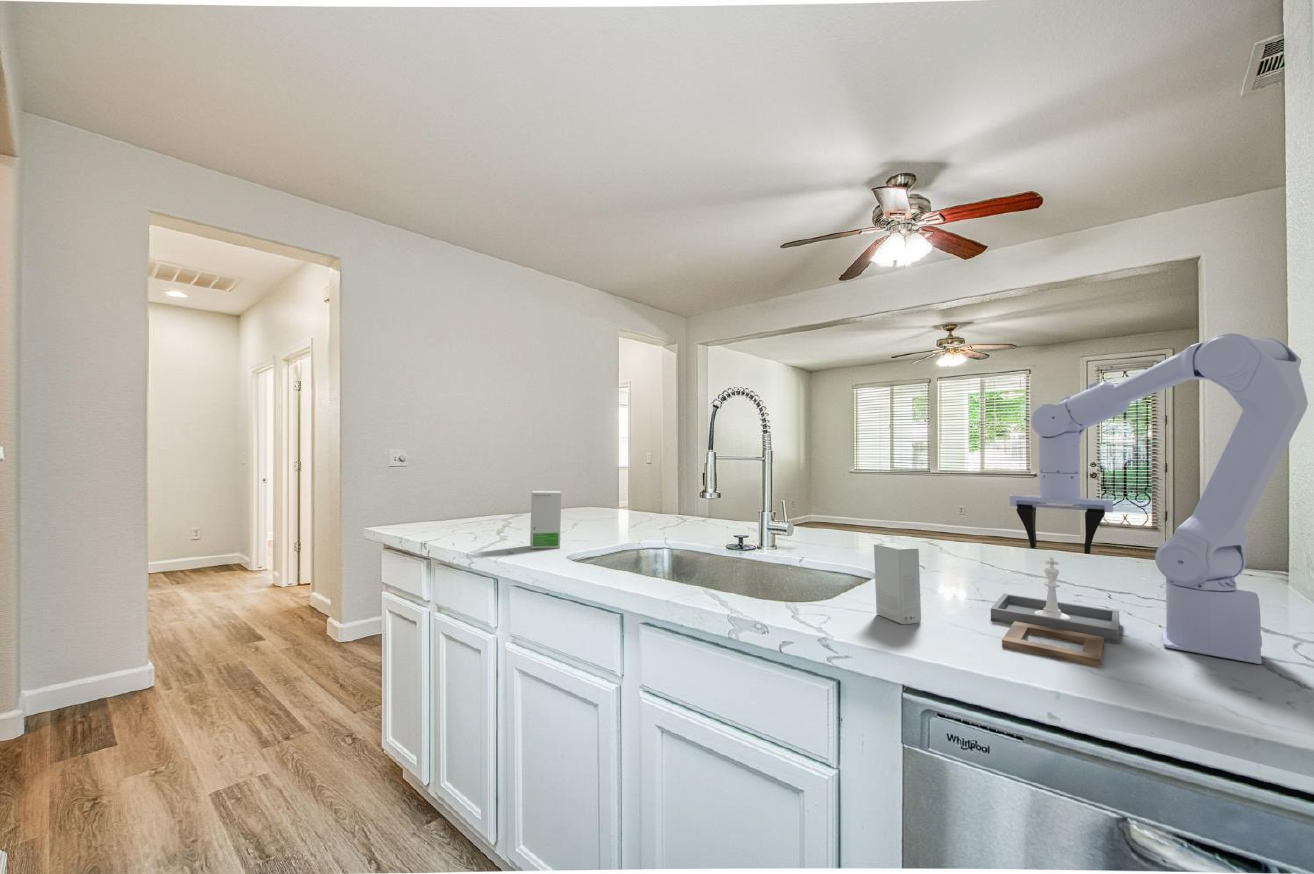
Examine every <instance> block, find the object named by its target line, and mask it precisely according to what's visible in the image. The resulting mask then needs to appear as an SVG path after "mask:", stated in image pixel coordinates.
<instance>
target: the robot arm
mask: <svg viewBox="0 0 1314 874" xmlns="http://www.w3.org/2000/svg"><path fill="white" fill-rule="evenodd" d="M1301 363H1302V359H1301V358H1300V356H1298V355H1297V354H1296V353H1295V352H1294V351H1293V350H1292V349H1291V348H1290V347H1289V346H1288V345H1287V344H1286V343H1284V342H1282V341H1281V340H1278V339H1276V338H1272V337H1256V336H1249V335H1243V334H1242V333H1241V334H1240V333H1234V332H1233V333H1230V332H1229V333H1228V332H1227V333H1222V334H1217V335H1215V336H1213V337H1211V338H1209V339H1207V340H1206V341H1204V342H1199V343H1198V342H1197V343H1195V344H1192V345H1190V346H1188V347H1186V348H1185V349H1184V350H1182V351H1180V352H1178V353H1176V354H1175V355H1173V356H1170V357H1169V358H1168V357H1167V358H1166V359H1165V360H1163V361H1161V362H1159V363H1156V364H1155V365H1153V366H1151V367H1149V368H1146V369H1145V370H1143V371H1141V372H1139V373H1136V374H1134V375H1133V376H1131V377H1129V378H1127V379H1125V380H1123V381H1121V382H1119V383H1114V382H1111V381H1103V382H1101V381H1100V382H1099V381H1093V382H1092V383H1090V384H1088V385H1087V387H1088V388H1087V389H1086V390H1084V391H1080V392H1079V393H1077V394H1075V395H1072V396H1065V397H1064V396H1063V397H1062V398H1061V399H1060V402H1059V403H1058V404H1057V403H1054V402H1053V403H1051V402H1047V403H1043V404H1042V405H1041V406H1038V408H1037V409H1035V411H1034V412H1033V414H1032V416H1031V427H1032V429H1033V430H1034V432H1035V433H1036V434H1037V435H1038V441H1039V442H1038V451H1039V454H1038V455H1039V458H1038V459H1039V460H1038V461H1039V462H1038V463H1039V465H1038V467H1039V468H1038V469H1039V495H1026V494H1025V495H1023V494H1010V495H1009V507H1010V506H1011V507H1016V509H1015V510H1016V513H1017V515H1018V516H1019V518H1020V521H1021V522H1022V524H1023V526H1024V528H1025V532H1026V533H1027V535H1026V536H1027V537H1028V542H1029V548H1030V549H1036V548H1037V542H1038V541H1037V532H1036V531H1037V530H1036V525H1037V523H1036V519H1037V518H1036V516H1037V508H1044V509H1058V510H1059V509H1061V510H1077V511H1078V510H1079V511H1084V519H1085V520H1084V522H1085V523H1084V524H1085V537H1084V538H1085V539H1084V554H1085V555H1086V554H1087V555H1090V554H1091V550H1092V549H1091V548H1092V544H1093V539H1094V538H1095V537H1094V536H1095V534H1096V531H1097V530H1098V527H1099V525H1100V524H1101V522H1102V520H1103V518H1104V517H1105V515H1106V513H1114V500H1113V499H1099V498H1085V497H1081V496H1080V495H1081V494H1080V493H1081V492H1080V489H1081V488H1080V485H1081V484H1080V483H1081V482H1080V479H1081V478H1080V477H1081V476H1080V444H1081V437H1082V435H1083V433H1084V432H1085V431H1086V430H1087V429H1088V428H1090V427H1092V426H1094V425H1095V426H1096V425H1097V424H1099V423H1102V422H1105V421H1107V420H1110V419H1112V418H1115V417H1117V416H1120V415H1123V414H1125V413H1126V412H1127V411H1128V409H1129V407H1130V404H1131V402H1133V401H1135V400H1139V399H1142V398H1144V397H1147V396H1150V395H1152V394H1155V393H1158V392H1160V391H1162V390H1166V389H1169V388H1172V387H1174V386H1177V385H1179V384H1182V383H1185V382H1187V381H1192V380H1193V381H1194V380H1195V381H1197V380H1199V381H1200V380H1206V381H1207V380H1210V381H1211V382H1212V383H1214V384H1216V385H1218V386H1220V387H1221V388H1223V389H1225V390H1226V391H1227V392H1228V394H1230V396H1231V397H1232V399H1234V400H1235V401H1236V403H1237V404H1238V406H1239V407H1240V408H1241V409H1242V413H1241V414H1240V415H1239V416H1240V417H1239V419H1238V421H1237V422H1236V425H1235V426H1234V429H1233V430H1232V432H1231V434H1230V437H1229V439H1228V441H1227V443H1226V445H1225V447H1224V449H1223V451H1222V453H1221V455H1220V457H1219V460H1218V461H1217V464H1216V465H1215V468H1214V470H1213V472H1212V474H1211V476H1210V478H1209V479H1208V482H1207V484H1206V487H1205V489H1204V491H1203V492H1202V495H1201V496H1200V499H1199V501H1198V503H1197V505H1196V507H1195V509H1194V511H1193V514H1191V516H1190V517H1188V518H1187V519H1186V520H1185V521H1183V522H1182V523H1181V524H1180V525H1179V526H1178V527H1177V528H1176V529H1175V530H1174V533H1173V535H1172V536H1171V537H1170V538H1168V540H1167V541H1164V542H1163V543H1162V544H1160V545H1159V546H1158V548H1157V549H1156V552H1155V555H1154V560H1155V563H1156V566H1157V568H1158V570H1159V572H1160V573H1161V575H1163V576H1164V577H1165V603H1166V604H1165V612H1166V613H1165V618H1166V619H1165V624H1166V626H1165V627H1166V628H1165V629H1166V630H1161V637H1162V642H1163V647H1165V648H1167V649H1173V650H1179V651H1184V652H1191V653H1196V654H1200V655H1206V656H1207V655H1208V656H1213V657H1218V658H1223V659H1230V660H1235V661H1241V662H1245V663H1251V664H1252V663H1253V664H1258V665H1262V664H1263V660H1262V648H1263V639H1262V634H1261V632H1262V629H1261V626H1262V625H1261V621H1262V620H1261V606H1260V600H1259V599H1260V598H1259V596H1258V593H1256V592H1255V591H1249V590H1242V589H1238V588H1237V587H1238V585H1237V582H1236V580H1235V578H1237V577H1238V576H1239V575H1241V574H1242V573H1243V572H1244V570H1245V568H1246V565H1247V559H1246V554H1245V550H1246V546H1247V544H1248V542H1249V540H1250V539H1249V537H1248V533H1247V532H1246V529H1245V528H1246V527H1247V525H1248V522H1249V521H1250V518H1251V517H1252V515H1253V513H1254V511H1255V508H1256V507H1257V504H1258V503H1259V501H1260V500H1261V498H1262V495H1263V494H1264V492H1265V489H1266V488H1267V486H1268V484H1269V482H1270V480H1271V479H1272V477H1273V475H1274V473H1275V470H1276V468H1277V467H1278V465H1279V462H1280V461H1281V459H1282V457H1283V455H1284V453H1285V451H1286V449H1287V448H1288V445H1290V442H1291V440H1292V438H1293V436H1294V434H1295V432H1296V430H1297V428H1298V426H1299V424H1300V423H1301V421H1302V419H1303V417H1304V415H1305V414H1306V413H1305V412H1306V411H1307V408H1308V405H1309V402H1308V398H1307V394H1306V391H1305V385H1304V382H1303V379H1302V376H1301V375H1302V374H1301V372H1300V367H1301ZM1070 505H1071V506H1070Z"/></svg>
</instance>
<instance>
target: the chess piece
mask: <svg viewBox="0 0 1314 874" xmlns="http://www.w3.org/2000/svg"><path fill="white" fill-rule="evenodd" d="M1054 559H1055V558H1054V557H1049V561H1048V560H1045V561H1044V564H1045V565H1049V567H1045V568H1044V569H1043V572H1044V573H1045V577H1046V579H1047V581H1045V582H1044V583H1043V586H1045V587H1048V588H1047V589H1048V590H1047V596H1046V597H1047V598H1046V600H1047V602H1046V607H1044V608H1043V609H1044V610H1039V611H1036V612H1034V615H1040V616H1046V617H1052V618H1058V619H1064V620H1070V617H1069V616H1068V615H1066V614H1063V613H1061V612H1060V611H1061V610H1059V609H1058V604H1057V602H1058V597H1057V591H1056V588H1061V586H1060V583H1057V579H1058V576H1059V573H1060V570H1059V569H1057V568H1055V566H1058V565H1059V561H1055V560H1054Z"/></svg>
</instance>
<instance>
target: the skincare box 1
mask: <svg viewBox="0 0 1314 874" xmlns="http://www.w3.org/2000/svg"><path fill="white" fill-rule="evenodd" d="M530 500H531V501H530V505H531V506H530V507H531V508H530V529H529V530H530V532H529V533H530V535H529V536H530V537H529V538H530V539H529V541H530V542H529V544H530V545H529V546H530V549H531V550H533V549H535V550H536V549H560V548H561V524H562V523H561V518H562V517H561V516H562V492H561V491H559V490H558V491H557V490H531V499H530Z"/></svg>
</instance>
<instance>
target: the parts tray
mask: <svg viewBox="0 0 1314 874" xmlns="http://www.w3.org/2000/svg"><path fill="white" fill-rule="evenodd" d="M1046 602H1047V599H1041V598H1035V597H1030V596H1023V595H1022V596H1021V595H1016V594H1009V593H1003V594H1001V596H999V598H998V599H997V601H995V603H994V604H993V605H992V607H991V608H990V621H991V622H996V623H1003V624H1009V625H1012V624H1013V623H1014V621H1016V622H1022V623H1027V624H1033V625H1038V626H1044V627H1050V628H1055V629H1061V630H1066V631H1072V632H1077V633H1083V634H1088V635H1094V636H1100V637H1104V643H1105V642H1106V643H1110V644H1111V643H1112V644H1117V645H1118V644H1119V635H1120V632H1119V631H1120V611H1118V610H1113V609H1107V608H1100V607H1096V606H1095V607H1094V606H1089V605H1082V604H1075V603H1069V602H1063V601H1062V602H1061V601H1057V604H1058V609H1059V610H1061V611H1060V612H1061V613H1063V614H1066V615H1068V616H1069V617H1070V620H1064V619H1058V618H1052V617H1046V616H1040V615H1034V612H1036V611H1039V610H1044V609H1043V608H1044V607H1046Z"/></svg>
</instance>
